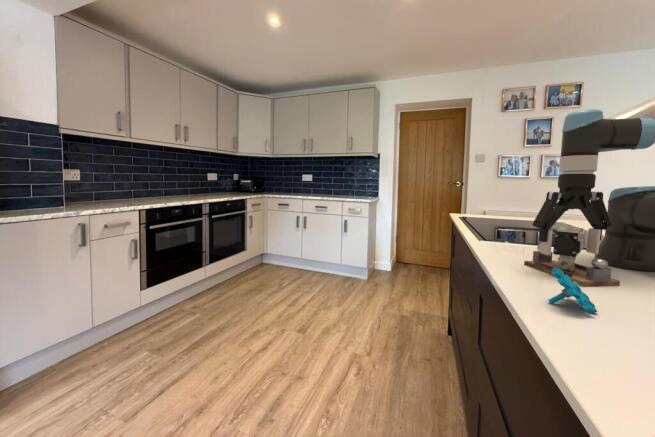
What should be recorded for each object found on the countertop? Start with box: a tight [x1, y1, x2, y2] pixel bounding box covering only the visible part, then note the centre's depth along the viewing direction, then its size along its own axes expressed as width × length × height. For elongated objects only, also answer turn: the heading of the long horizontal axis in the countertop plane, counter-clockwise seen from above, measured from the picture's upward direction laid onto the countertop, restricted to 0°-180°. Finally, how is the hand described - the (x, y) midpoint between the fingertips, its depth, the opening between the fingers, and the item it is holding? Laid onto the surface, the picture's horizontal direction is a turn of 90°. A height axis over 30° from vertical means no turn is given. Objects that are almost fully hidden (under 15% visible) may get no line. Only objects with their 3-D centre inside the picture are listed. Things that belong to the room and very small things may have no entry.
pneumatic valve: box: [552, 225, 586, 272], centre depth 81 cm, size 6×12×12 cm, turn 134°
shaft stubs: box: [532, 243, 613, 282], centre depth 81 cm, size 4×19×5 cm, turn 5°
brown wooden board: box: [523, 259, 621, 288], centre depth 81 cm, size 10×19×2 cm, turn 5°
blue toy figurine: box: [548, 267, 599, 314], centre depth 61 cm, size 11×6×10 cm
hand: (568, 253), depth 81 cm, fingers open, 13 cm apart
